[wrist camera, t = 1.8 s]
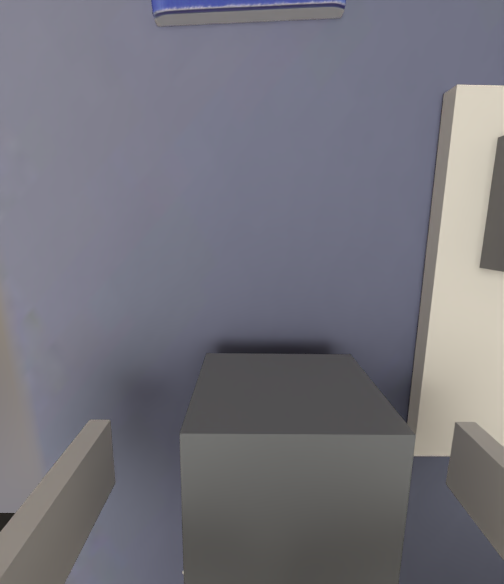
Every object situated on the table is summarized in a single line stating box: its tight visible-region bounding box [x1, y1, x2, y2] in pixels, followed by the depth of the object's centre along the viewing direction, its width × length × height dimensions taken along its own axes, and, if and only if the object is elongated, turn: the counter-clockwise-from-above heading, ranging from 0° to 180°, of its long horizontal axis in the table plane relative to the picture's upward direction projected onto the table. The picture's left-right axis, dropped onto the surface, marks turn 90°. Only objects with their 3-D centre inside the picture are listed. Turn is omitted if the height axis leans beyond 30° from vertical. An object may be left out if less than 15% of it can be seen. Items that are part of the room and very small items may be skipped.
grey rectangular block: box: [180, 353, 416, 584], centre depth 14 cm, size 6×6×8 cm
